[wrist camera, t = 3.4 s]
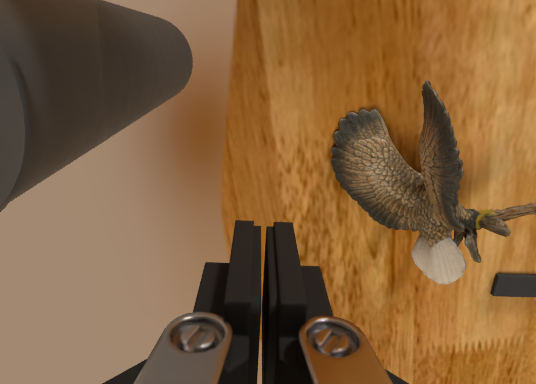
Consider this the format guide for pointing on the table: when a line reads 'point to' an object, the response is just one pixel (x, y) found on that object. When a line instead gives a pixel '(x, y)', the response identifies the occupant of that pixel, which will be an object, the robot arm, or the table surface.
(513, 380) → the table surface
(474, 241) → the eagle figurine
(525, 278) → the frame
